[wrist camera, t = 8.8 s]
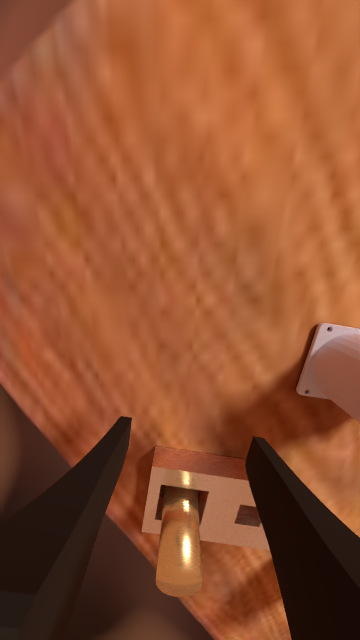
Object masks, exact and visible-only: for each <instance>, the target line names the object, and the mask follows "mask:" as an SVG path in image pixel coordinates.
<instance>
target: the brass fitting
mask: <svg viewBox="0 0 360 640" xmlns="http://www.w3.org/2000/svg"><path fill="white" fill-rule="evenodd" d="M156 585H157V587H158V588H159V589H160V590H161V591H162V592H163V593H165V594H167V595H170V596H173V597H188V596H191V595H194V594H196V593H197V592H198V591H200V589H201V588H202V585H203V580H202V563H201V545H200V528H199V510H198V493H197V490H195V489H189V488H182V487H175V486H168V485H165V489H164V500H163V510H162V520H161V531H160V541H159V551H158V562H157V572H156Z"/></svg>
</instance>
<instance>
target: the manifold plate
mask: <svg viewBox="0 0 360 640" xmlns="http://www.w3.org/2000/svg"><path fill="white" fill-rule="evenodd" d="M245 462H246V459H239V458H233V457H226V456H220V455H213V454H206V453H200V452H193V451H187V450H180V449H173V448H167V447H160V446H155V452H154V458H153V463H152V470H151V476H150V482H149V488H148V494H147V501H146V507H145V513H144V519H143V526H142V532H147V533H154V534H160V531H161V520H162V510H163V500H164V496H160V495H159V493H160V487H161V484H162V485H168V486H175V487H182V488H189V489H195V490H201V493H200V497H199V501H198V510H199V528H200V540H202V541H209V542H216V543H223V544H230V545H237V546H244V547H251V548H258V549H265V550H270V548H269V545H268V541H267V538H266V535H265V532H264V529H263V526H262V523H261V520H260V517H259V514H258V511H257V508H256V505H255V501H254V498H253V495H252V492H251V489H250V485H249V481H248V477H247V472H246V467H245Z"/></svg>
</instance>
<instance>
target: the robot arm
mask: <svg viewBox="0 0 360 640" xmlns="http://www.w3.org/2000/svg"><path fill="white" fill-rule="evenodd" d="M328 327H330V328H329V330H328V331H327V328H328ZM306 390H307V391H306ZM305 391H306V392H305ZM296 392H297V393H298V394H299V395H304V396H310V397H317V398H323V399H329V400H332V401H333V402H334V403H335V404H336V405H338V406H339V407H340V408H341V409H342V410H344V411H345V412H346V413H347V414H348V415H350V416H351V417H352V418H353V419H354V420H356V421H357V422H358V423H359V424H360V329H359V328H353V327H347V326H341V325H335V324H329V323H320V324H319V325H318V327H317V329H316V332H315V335H314V338H313V341H312V344H311V347H310V350H309V353H308V356H307V358H306V361H305V364H304V367H303V370H302V373H301V376H300V379H299V382H298V385H297V388H296ZM131 421H132V418H129V417H123V416H121V417H120V418H119V419H118V420H117V422H116V423H115V424H114V425H113V427H112V428H111V429H110V430H109V431H108V432H107V434H106V435H105V436H104V437H103V438H102V439H101V440H100V441H99V442H98V443H97V445H96V446H95V447H94V448H93V449H92V450H91V451H90V452H89V453H88V454H87V455H86V456H85V457H84V458H83V459H82V460H81V461H80V462H78V463H77V464H76V465H75V466H74V467H73V468H72V469H71V470H70V471H69V472H67V473H66V474H65V475H64V476H63V477H62V478H61V479H59V480H58V481H57V482H56V483H55V484H53V485H52V486H51V487H50V488H48V489H47V490H46V491H45V492H44V493H42V494H41V495H40V496H38V497H37V498H36V499H34V500H33V501H32V502H30V503H29V504H28V505H26V506H25V507H23V508H22V509H21V510H19V511H18V512H16V513H15V514H14V515H12V516H11V517H9V518H8V519H7V520H5V521H4V522H2V523H1V524H0V640H65V639H66V635H67V632H68V629H69V625H70V622H71V619H72V615H73V612H74V608H75V605H76V602H77V598H78V595H79V592H80V589H81V585H82V582H83V579H84V576H85V572H86V569H87V566H88V563H89V559H90V556H91V553H92V549H93V547H94V543H95V540H96V537H97V534H98V531H99V528H100V525H101V522H102V519H103V517H104V514H105V511H106V509H107V506H108V504H109V501H110V498H111V496H112V493H113V491H114V488H115V486H116V483H117V480H118V478H119V475H120V472H121V470H122V467H123V464H124V460H125V457H126V453H127V450H128V446H129V438H130V430H131ZM245 467H246V472H247V477H248V481H249V485H250V489H251V492H252V495H253V498H254V501H255V505H256V508H257V511H258V514H259V517H260V520H261V523H262V526H263V529H264V532H265V535H266V538H267V541H268V545H269V548H270V552H271V555H272V559H273V563H274V567H275V571H276V575H277V579H278V583H279V587H280V591H281V595H282V599H283V604H284V608H285V612H286V616H287V621H288V625H289V630H290V634H291V639H292V640H360V538H359V537H358V536H357V535H356V534H355V533H354V532H353V531H351V530H350V529H349V528H348V527H347V526H346V525H345V524H344V523H343V522H342V521H341V520H340V519H339V518H337V517H336V516H335V515H334V514H333V513H332V512H331V511H330V510H329V509H328V508H327V507H326V506H325V505H324V504H323V503H322V502H321V501H320V500H319V499H318V498H317V497H316V496H315V495H314V494H313V493H312V492H311V491H310V490H309V489H308V488H307V487H306V485H305V484H304V483H303V482H302V481H301V480H300V479H299V478H298V477H297V476H296V475H295V473H294V472H293V471H292V470H291V469H290V468H289V467H288V466H287V464H286V463H285V462H284V461H283V460H282V459H281V457H280V456H279V455H278V454H277V453H276V452H275V451H274V449H273V448H272V447H271V446H270V445H269V444H268V442H267V441H266V440H265V439H264V438H260V437H253V439H252V442H251V446H250V449H249V452H248V456H247V459H246V462H245Z"/></svg>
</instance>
